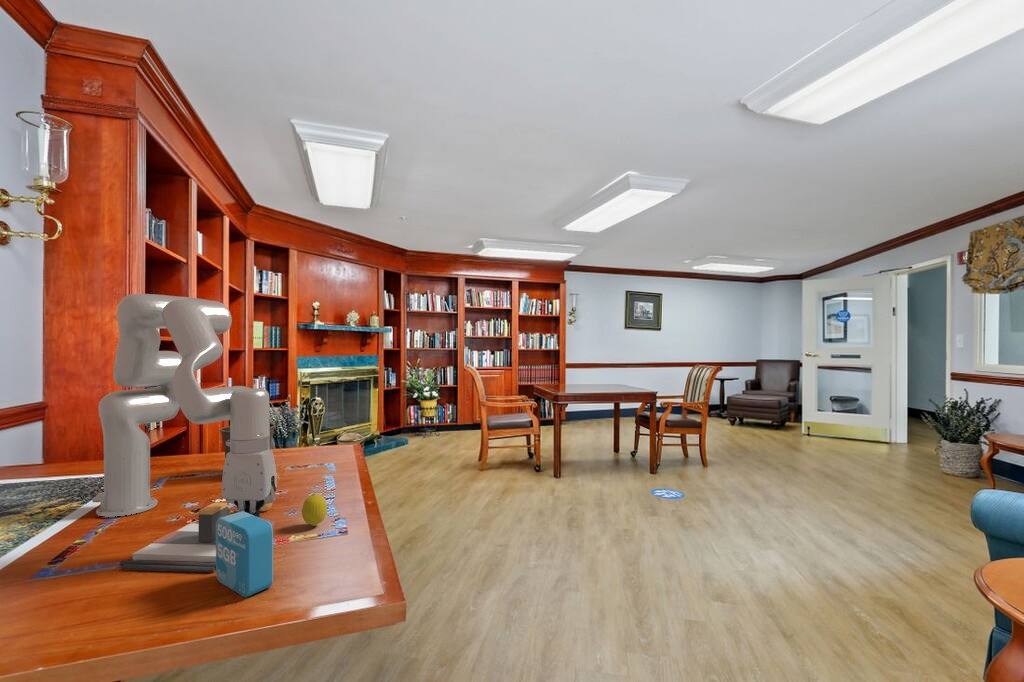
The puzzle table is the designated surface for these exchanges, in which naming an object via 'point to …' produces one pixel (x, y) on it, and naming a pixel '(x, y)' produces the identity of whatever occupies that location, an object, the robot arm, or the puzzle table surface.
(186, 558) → the panel
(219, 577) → the data package
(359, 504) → the puzzle table surface
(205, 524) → the toggle
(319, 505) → the lemon
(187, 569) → the cords
